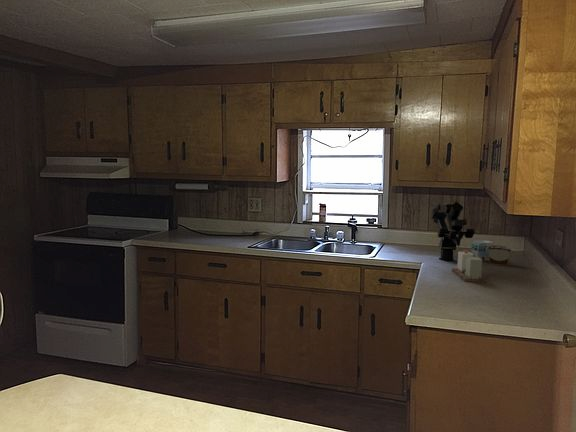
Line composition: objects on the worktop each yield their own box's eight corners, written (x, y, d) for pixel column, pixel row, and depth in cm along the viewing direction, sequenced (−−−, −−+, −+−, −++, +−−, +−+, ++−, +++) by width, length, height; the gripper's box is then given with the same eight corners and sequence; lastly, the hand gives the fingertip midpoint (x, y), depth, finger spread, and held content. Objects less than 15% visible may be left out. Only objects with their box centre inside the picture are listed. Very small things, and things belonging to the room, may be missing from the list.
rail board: (451, 270, 255) (452, 266, 255) (470, 271, 255) (471, 266, 254) (464, 281, 234) (464, 276, 234) (485, 281, 234) (485, 276, 233)
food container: (511, 264, 273) (512, 246, 272) (510, 266, 268) (511, 248, 267) (488, 261, 279) (489, 244, 278) (486, 263, 274) (487, 246, 273)
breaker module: (457, 268, 253) (458, 248, 252) (467, 268, 253) (469, 249, 251) (461, 271, 246) (462, 251, 245) (472, 271, 246) (473, 251, 244)
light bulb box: (477, 261, 280) (478, 242, 278) (470, 258, 286) (471, 240, 285) (493, 260, 282) (494, 242, 281) (485, 257, 289) (486, 240, 288)
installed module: (465, 274, 240) (466, 256, 239) (476, 275, 240) (477, 257, 238) (469, 277, 234) (470, 259, 233) (481, 278, 234) (482, 259, 232)
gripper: (440, 213, 263) (444, 236, 254) (474, 213, 263) (480, 237, 253) (435, 225, 272) (439, 248, 263) (469, 226, 272) (474, 249, 262)
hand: (458, 245), depth 260 cm, fingers closed
